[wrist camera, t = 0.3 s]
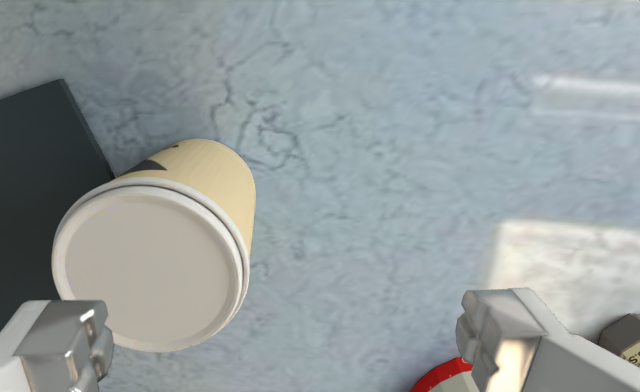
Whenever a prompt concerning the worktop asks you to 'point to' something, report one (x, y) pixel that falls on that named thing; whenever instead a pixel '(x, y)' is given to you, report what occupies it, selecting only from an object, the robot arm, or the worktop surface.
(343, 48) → the worktop surface
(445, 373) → the kitchen timer
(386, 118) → the worktop surface
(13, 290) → the slate mat
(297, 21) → the worktop surface
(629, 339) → the liquor
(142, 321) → the coffee cup
